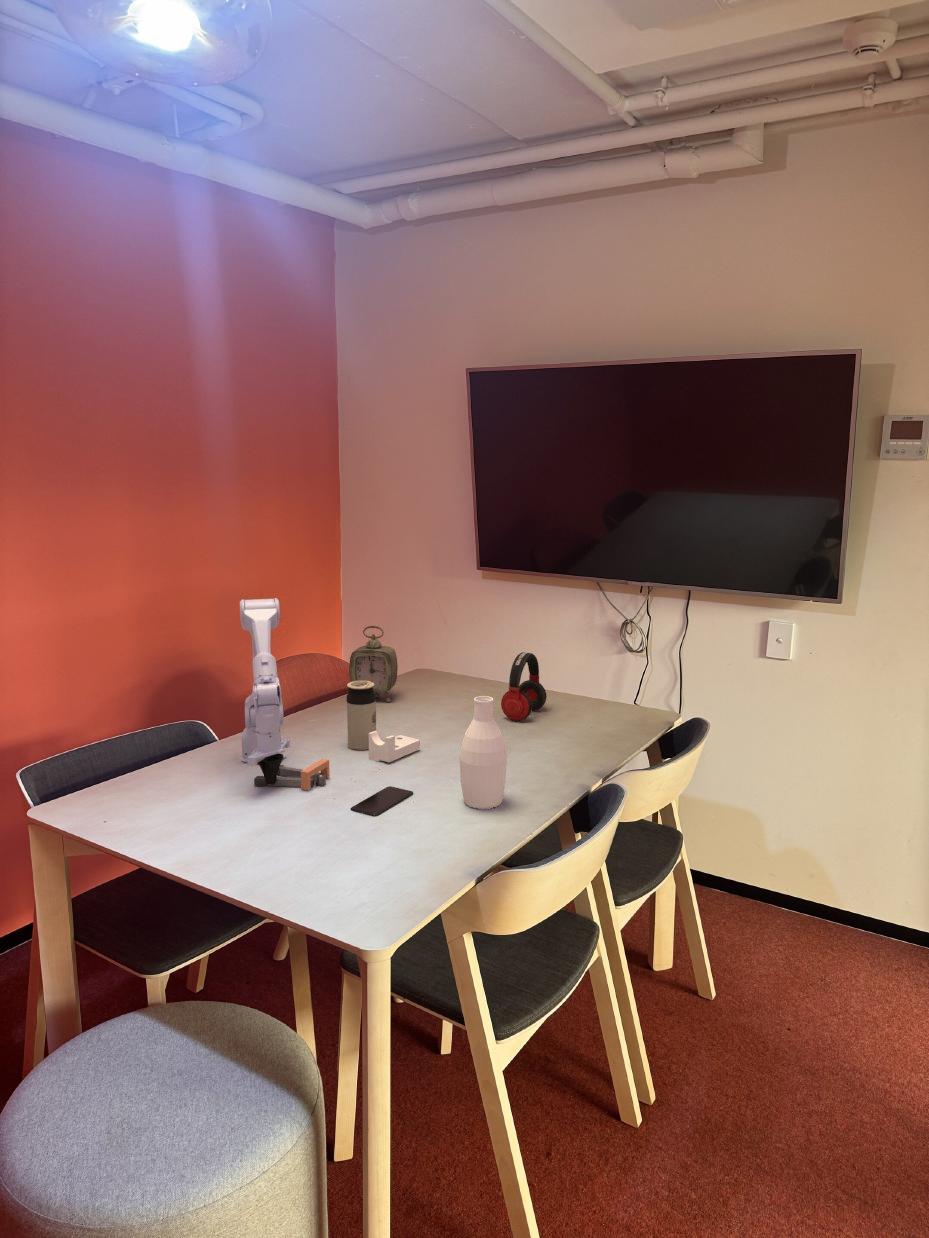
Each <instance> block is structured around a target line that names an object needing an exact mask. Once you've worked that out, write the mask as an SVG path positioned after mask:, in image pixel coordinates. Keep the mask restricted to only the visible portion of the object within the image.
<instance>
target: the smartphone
mask: <svg viewBox="0 0 929 1238" xmlns="http://www.w3.org/2000/svg"><path fill="white" fill-rule="evenodd" d="M413 795H414V791H411V790H409V789H404V788H400V787H396V786H391V785H390V786H386V787H384V788H383V789H380V790H379V791H377V792H375V793H374V794H372V795H371V796H369V797H367V798H365V799H363V800H362V801H360V802H358V803H356V804H355V805H353V806H351V807H350V811H352V812H354V813H357V814H363V815H365V816H369V817H378V816H380V815H382V814H384V813H385V812H387V811H389V810H390V809H392V808H394V807H395V806H398V805H399V804H401V803H402V802H404V801H406V800H408V799H409V798H411V796H413Z"/></svg>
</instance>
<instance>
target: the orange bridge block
mask: <svg viewBox="0 0 929 1238" xmlns="http://www.w3.org/2000/svg"><path fill="white" fill-rule="evenodd" d="M318 772H319V773H325V774H326V779H328V778H330V776H331V775H330V772H331V771H330V759H327V758H320V759H319V760H317V761H316V762H314V763H313V764H311V765H309V766H307V767H305V769H302V771H301V787H300V788H301V790H305V791H310V790H311V789H312V787H311V782H310V777H311V776H313V775H315V774H316V773H318Z"/></svg>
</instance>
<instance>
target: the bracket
mask: <svg viewBox="0 0 929 1238" xmlns="http://www.w3.org/2000/svg"><path fill="white" fill-rule="evenodd" d="M368 734H369V749H368V759H369V760H371V761H374V762H378V763H379V762H381V761H383V762H387V763H391V762H393V761H396V760H399V759H400V758H402V757H405V756H407V755H409V754H411V753H415V752H416V751H418V750H420V749H421V739H417V738H414V737H410V736H405V735H403V734H398V735H396V736H395V735H389V736H387V737H385V741H383V740H381V737H380V736H379V733H378V731H377V730H376V731H373V732H370V733H368Z"/></svg>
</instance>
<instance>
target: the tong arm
mask: <svg viewBox="0 0 929 1238" xmlns="http://www.w3.org/2000/svg"><path fill="white" fill-rule="evenodd" d="M310 782H311V788H313V787H314V786H315V782H314V778H310ZM253 785H254V786H255V787H256V786H257V787H267V786H273V787H274V786H275V787H276V786H277V787H298V788H299V787H300V788H301V778H292V777H285V776H277V778H276V782H275V784H274V785H271V784H266V781H265V778H264V775H256V776H255V777H254V779H253Z"/></svg>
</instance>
